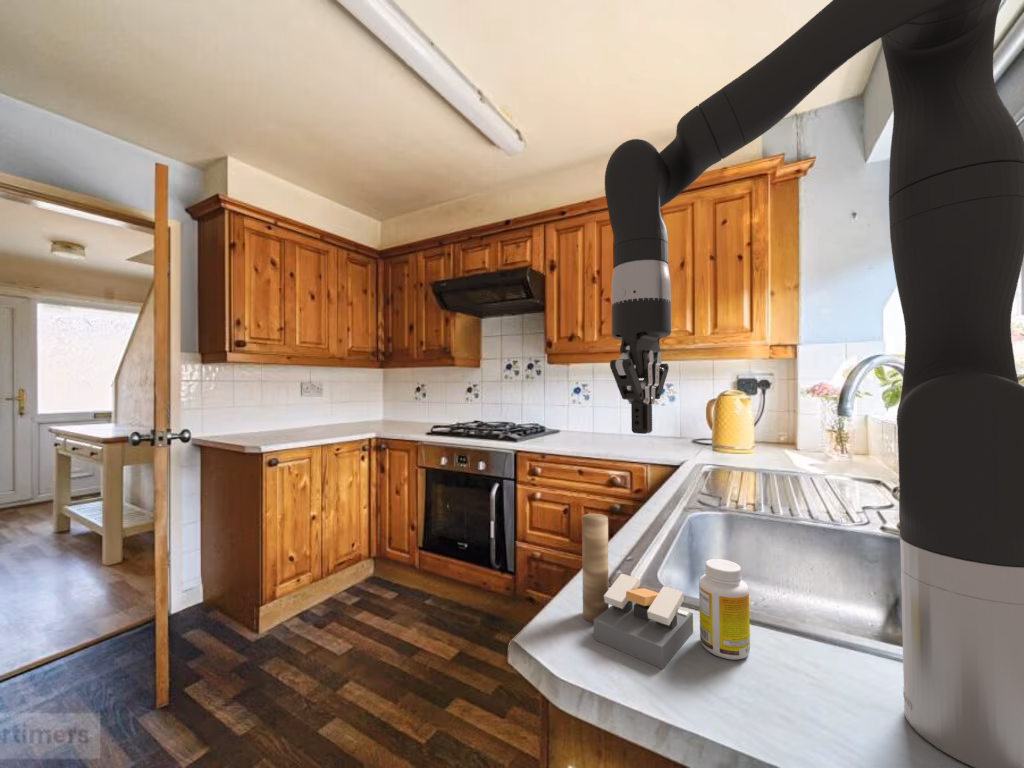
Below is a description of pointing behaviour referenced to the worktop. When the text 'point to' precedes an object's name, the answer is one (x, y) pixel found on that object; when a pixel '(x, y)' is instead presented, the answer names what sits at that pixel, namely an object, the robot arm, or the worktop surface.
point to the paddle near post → (621, 590)
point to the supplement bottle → (724, 610)
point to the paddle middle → (641, 596)
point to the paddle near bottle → (665, 605)
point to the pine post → (594, 565)
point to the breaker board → (643, 633)
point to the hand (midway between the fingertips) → (642, 432)
